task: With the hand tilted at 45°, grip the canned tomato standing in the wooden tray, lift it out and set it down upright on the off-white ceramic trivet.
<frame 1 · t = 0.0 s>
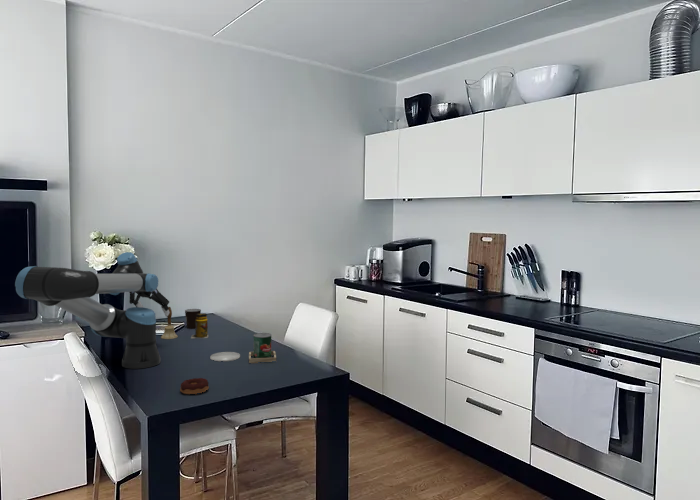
hand: (155, 313, 242), 15 cm above the table, tool tilted 35°, fingers open, 13 cm apart
canned tomato: (262, 359, 221), resting in wooden tray
hand bell: (169, 337, 259), on the table
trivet: (225, 357, 224), on the table
wooden tray: (262, 359, 221), on the table
coffee mug: (193, 327, 283), on the table
donut: (194, 391, 181), on the table
condiment: (199, 337, 261), on the table
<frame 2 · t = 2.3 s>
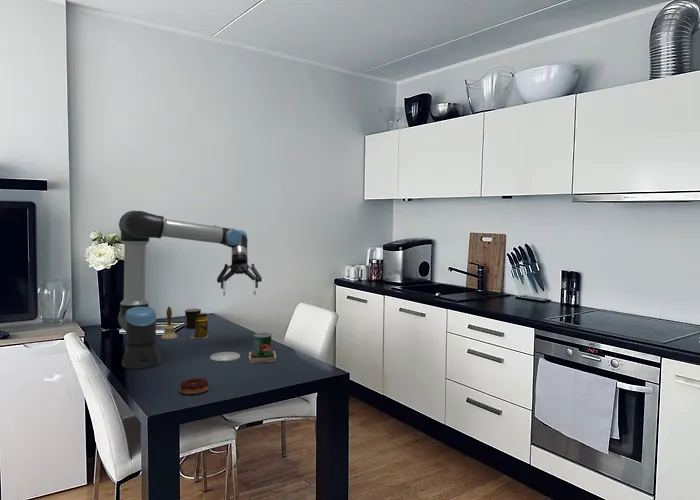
hand: (239, 293, 228), 28 cm above the table, tool tilted 45°, fingers open, 13 cm apart
nothing on the table moved.
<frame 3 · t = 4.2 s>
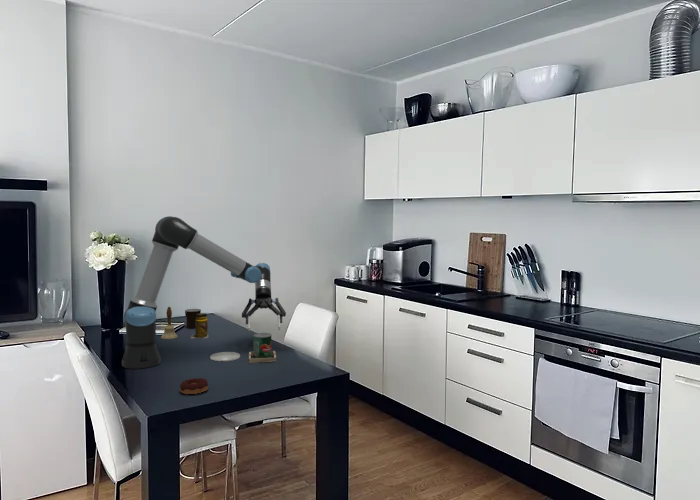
hand: (264, 329, 228), 12 cm above the table, tool tilted 45°, fingers open, 13 cm apart
nothing on the table moved.
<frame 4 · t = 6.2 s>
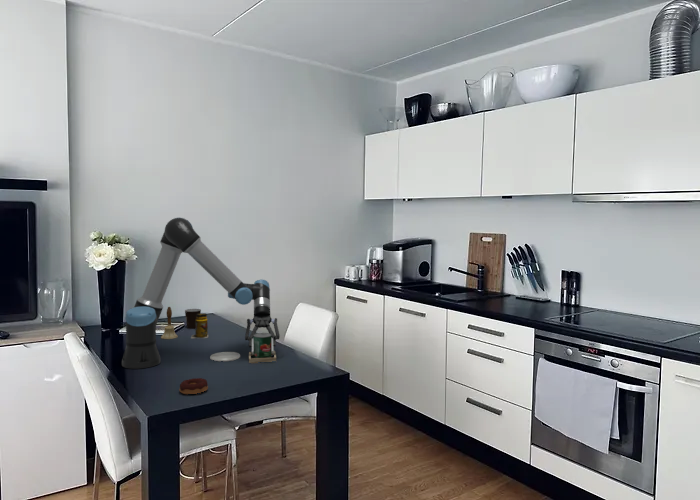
hand: (262, 352, 218), 4 cm above the table, tool tilted 45°, fingers closed on canned tomato, 8 cm apart
canned tomato: (262, 359, 221), resting in wooden tray, touching gripper
everything else where it was.
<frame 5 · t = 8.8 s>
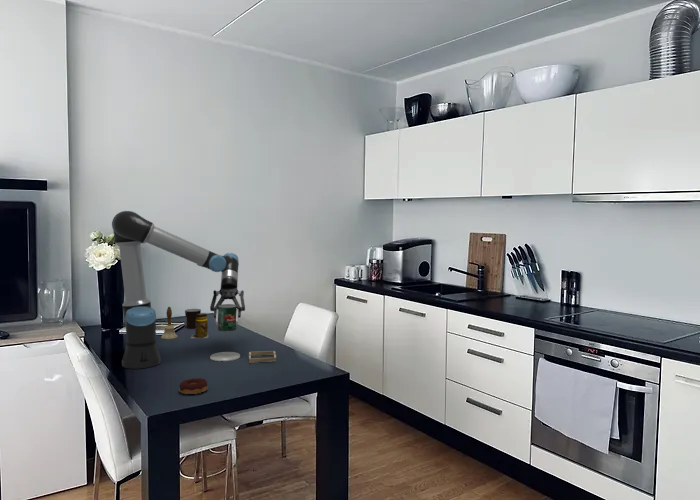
hand: (226, 323, 219), 16 cm above the table, tool tilted 45°, fingers closed on canned tomato, 8 cm apart
canned tomato: (227, 330, 223), point 12 cm above the table, touching gripper
everything else where it was.
when the fingers open (6 cm above the table, at t = 11.4 s): canned tomato drops 1 cm, resting on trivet.
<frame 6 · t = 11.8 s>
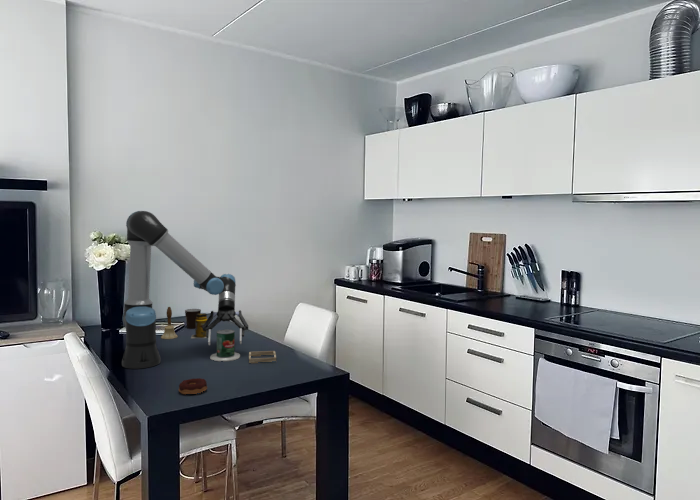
hand: (225, 343, 221), 7 cm above the table, tool tilted 45°, fingers open, 13 cm apart
canned tomato: (225, 356, 224), point 1 cm above the table, touching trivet
everything else where it was.
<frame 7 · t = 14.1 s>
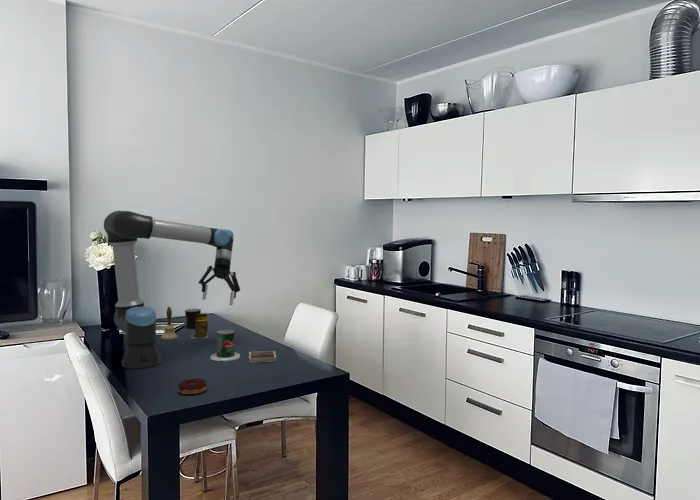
hand: (217, 301, 235), 23 cm above the table, tool tilted 25°, fingers open, 13 cm apart
nothing on the table moved.
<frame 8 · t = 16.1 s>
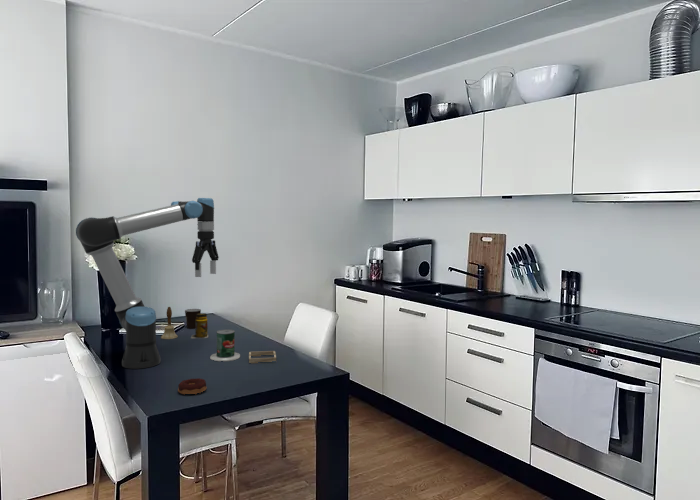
hand: (205, 275, 238), 35 cm above the table, tool pointing down, fingers open, 13 cm apart
nothing on the table moved.
at the end: canned tomato 0.2 cm from the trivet (horizontally); canned tomato tilted 0°; the gripper is holding nothing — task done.
